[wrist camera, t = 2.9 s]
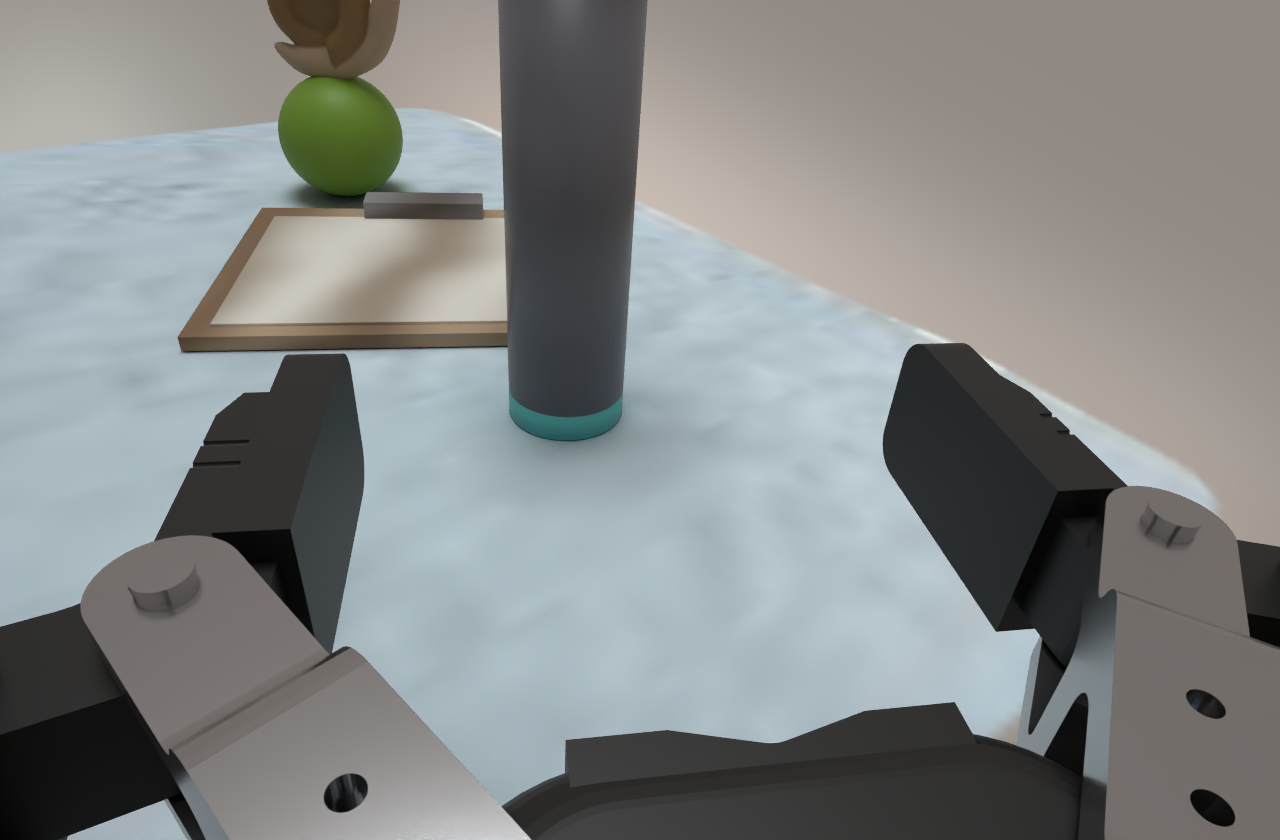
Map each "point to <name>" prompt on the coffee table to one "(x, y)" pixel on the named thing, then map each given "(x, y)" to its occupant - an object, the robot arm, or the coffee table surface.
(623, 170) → the cylinder
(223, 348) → the clipboard
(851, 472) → the coffee table surface
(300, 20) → the snail figurine
